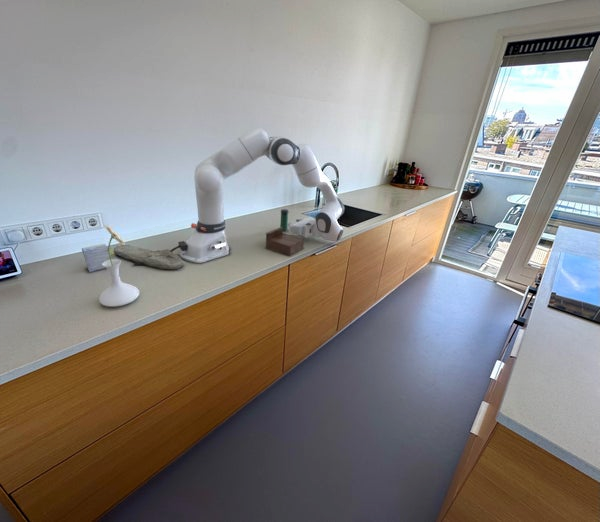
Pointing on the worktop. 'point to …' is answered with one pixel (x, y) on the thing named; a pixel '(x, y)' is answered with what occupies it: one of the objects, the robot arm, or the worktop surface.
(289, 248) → the stand
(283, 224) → the marker
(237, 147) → the robot arm
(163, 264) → the long grey stone
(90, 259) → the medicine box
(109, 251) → the flower in vase
